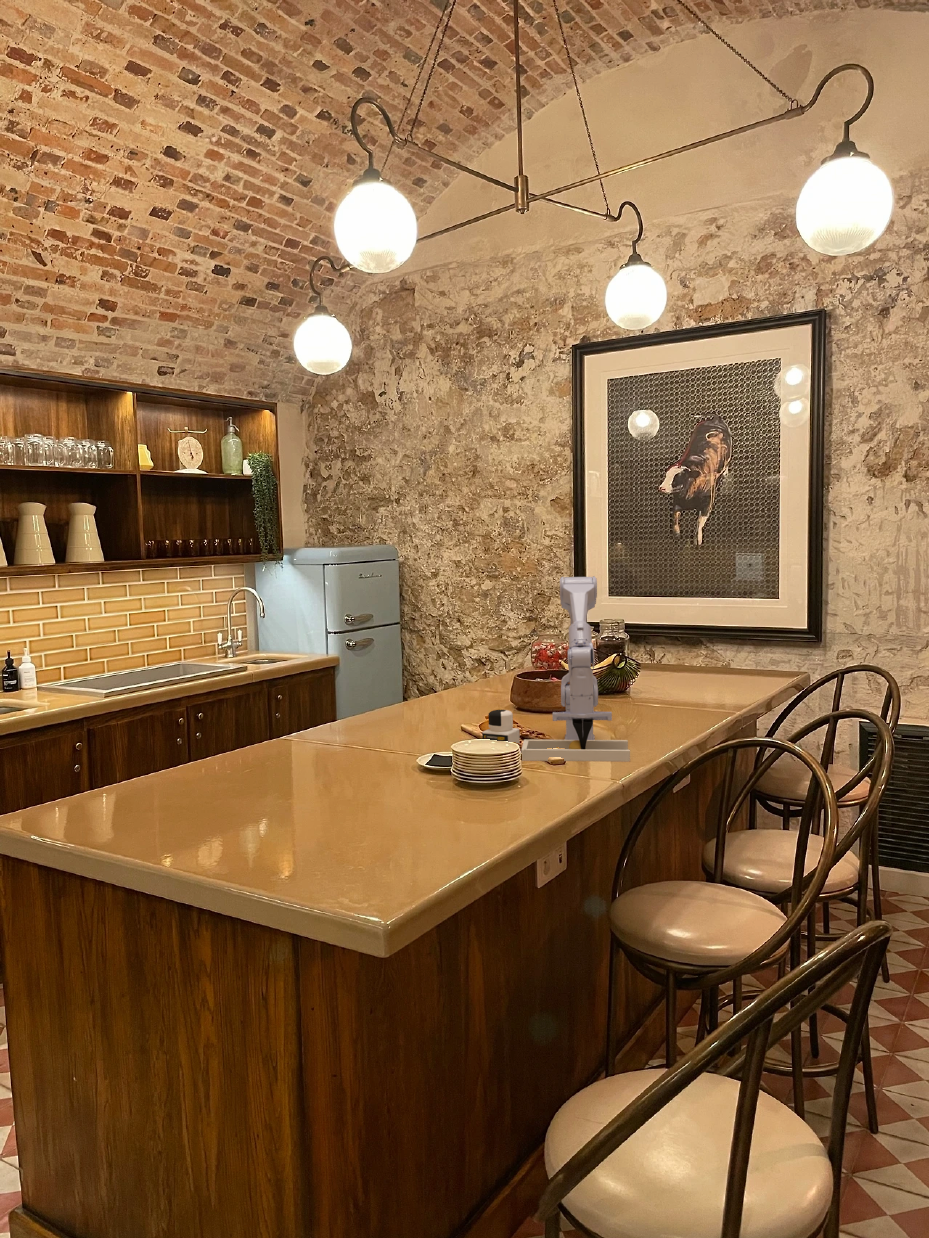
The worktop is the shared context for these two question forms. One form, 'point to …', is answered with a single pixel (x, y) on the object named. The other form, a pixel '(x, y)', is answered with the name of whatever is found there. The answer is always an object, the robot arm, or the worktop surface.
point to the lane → (576, 750)
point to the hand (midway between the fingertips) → (582, 749)
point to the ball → (575, 745)
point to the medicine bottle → (501, 727)
